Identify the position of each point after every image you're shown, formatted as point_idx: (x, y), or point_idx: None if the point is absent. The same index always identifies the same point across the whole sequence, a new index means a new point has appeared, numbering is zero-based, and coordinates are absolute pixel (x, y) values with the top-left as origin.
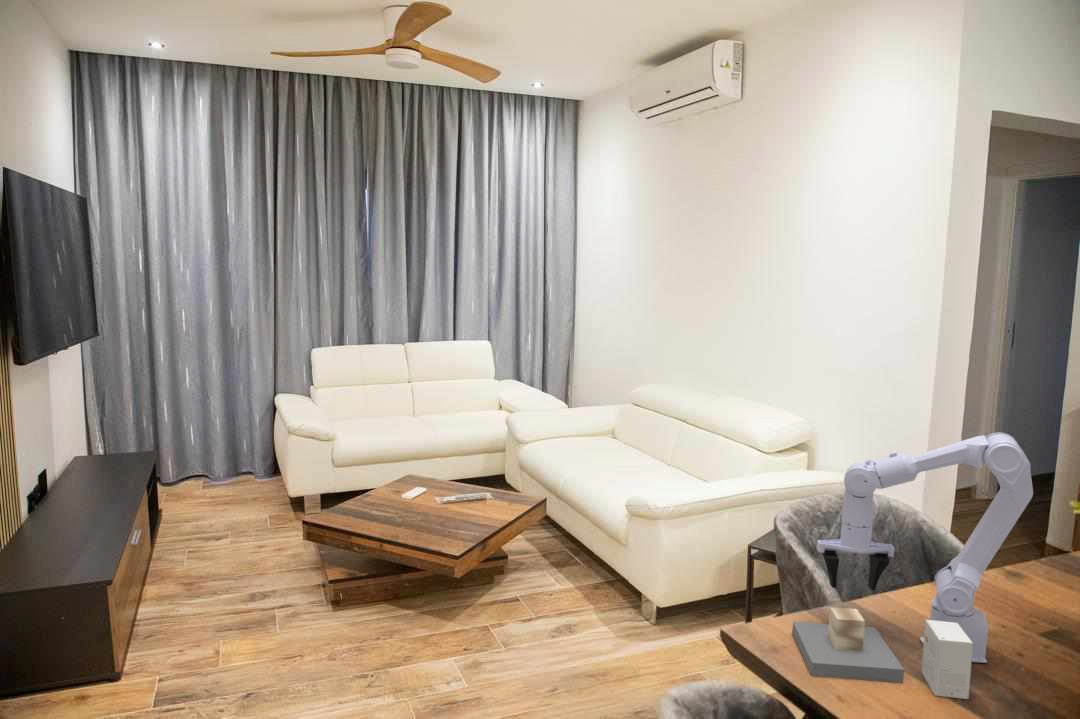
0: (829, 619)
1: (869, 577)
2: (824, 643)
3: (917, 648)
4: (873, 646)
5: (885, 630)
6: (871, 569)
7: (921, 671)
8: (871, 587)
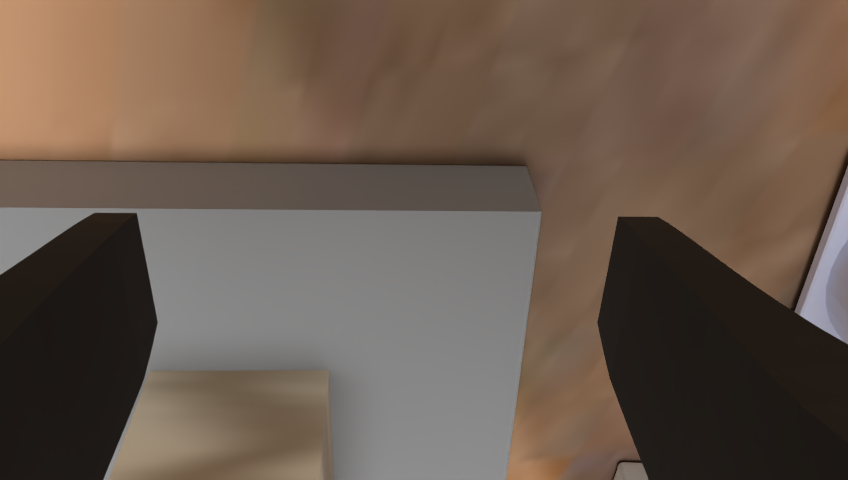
0: (113, 478)
1: (659, 290)
2: (116, 448)
3: (761, 244)
4: (419, 441)
5: (686, 17)
6: (712, 425)
7: (619, 469)
8: (606, 332)
